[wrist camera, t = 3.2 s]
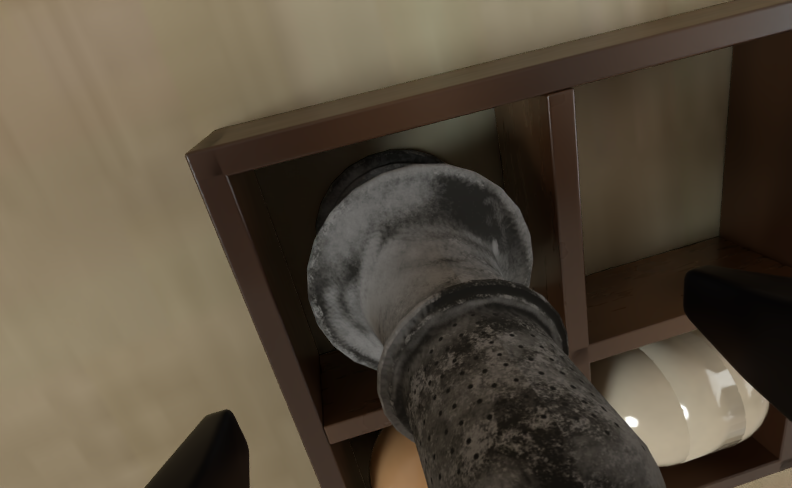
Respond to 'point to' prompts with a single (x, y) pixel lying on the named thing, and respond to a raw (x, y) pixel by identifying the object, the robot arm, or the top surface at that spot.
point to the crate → (529, 214)
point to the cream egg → (680, 397)
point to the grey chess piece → (461, 331)
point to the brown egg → (395, 462)
